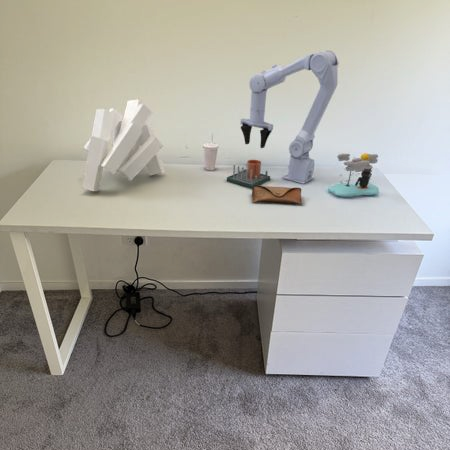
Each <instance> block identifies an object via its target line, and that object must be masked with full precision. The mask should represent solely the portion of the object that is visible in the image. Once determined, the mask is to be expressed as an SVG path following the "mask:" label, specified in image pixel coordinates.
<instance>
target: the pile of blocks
mask: <svg viewBox="0 0 450 450" xmlns="http://www.w3.org/2000/svg"><path fill="white" fill-rule="evenodd" d="M153 114H154V113H153V111H152V110H151V109H150V108H149V107H147V106H146V105H145V104H144V103H143V102H142V101H141V100H140V98H139V99H131V100H127V103H126V106H125V110H124V114H123V115H122V114H120V112H119V111H117V110H116V109H115V108H113V107H111V108H110V109H106V108H96V109H95V114H94V120H93V124H92V125H93V126H92V131H91V135H90V137H89V139H88V141H87V142H86V143H85V145H84V146H83V149H84V150H86V151H87V156H86V162H85V167H84V172H83V173H84V174H83V179H82V184H81V189H84V190H87V191H91V192H99V189H100V185H101V180H102V173H103V169H105V170H106V171H107V172H108V173H110V174H112V175H115V174H116V173H121V175H122V176H123V177H124V179H126V180H128V181H132V180H133V179H134V178H135V177H136V176H137V175H138V174H139V173H140V172H141V171H142V169H144V167H145V166H146V168H147V172H148V175H149V176H154V175H158V174H161V173H165V172H166V169H165V166H164V164H163V160H162V157H161V153H160V150H161V149H162V148H163V147H164V146H163V144H162V143H161V142H160V140H159V139H158V137H156V136H155V133H154V132H155V131H154V129H153V126H152V124H147V122H148V120H149V118H150V117H151V116H152V115H153ZM112 134H113V135H112ZM111 135H112V144H111V149H110V150H109V144H110V141H111ZM108 150H109V152H108Z"/></svg>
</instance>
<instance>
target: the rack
mask: <svg viewBox="0 0 450 450" xmlns="http://www.w3.org/2000/svg"><path fill="white" fill-rule="evenodd" d="M232 170H233V171H232V174H231V175H229V176H227V177H226V182H227V183H231V184H234V185H238V186H241V187H244V188H247V189H251V190H252V189H253V187H254V186H255V185H259V186H262V185H263V184H265V183H267V182H269V181H271V175H268V173H269V171H268V170H266V171H265V174H264V173H261V172H260V178H259V179H257V176H255V179H252V170H251V174H250V179H248V178H247V176H248V169H247V168H245V169H244V166H243V167H241V170H240V166H239V165H238V166H237V172H236V165H235V164H233V169H232Z"/></svg>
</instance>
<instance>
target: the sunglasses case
mask: <svg viewBox="0 0 450 450" xmlns="http://www.w3.org/2000/svg"><path fill="white" fill-rule="evenodd" d="M251 190H252V191H251V201H252V203H256V204H257V203H264V204H279V205H303V201H302V188H301V187H296V186H295V187H286V186H285V187H284V186H267V185H265V186H264V185H255V186H254V187H253V189H251Z"/></svg>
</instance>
